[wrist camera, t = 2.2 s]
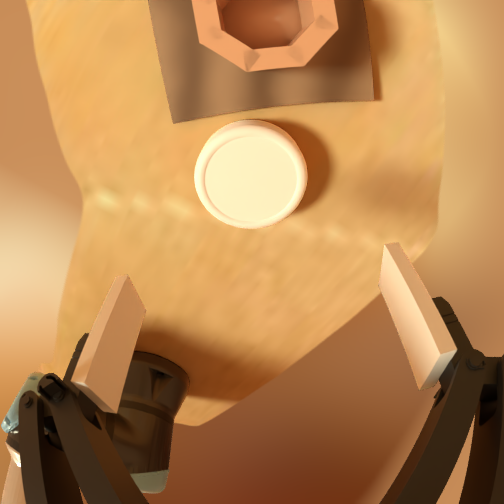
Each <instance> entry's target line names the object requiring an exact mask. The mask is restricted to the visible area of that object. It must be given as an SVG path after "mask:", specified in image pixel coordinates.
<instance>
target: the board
mask: <svg viewBox="0 0 504 504" xmlns="http://www.w3.org/2000/svg"><path fill="white" fill-rule="evenodd" d="M148 3H149V9H150V14H151V20H152V25H153V31H154V36H155V41H156V46H157V51H158V56H159V61H160V66H161V71H162V75H163V80H164V85H165V89H166V94H167V98H168V103H169V107H170V112H171V116H172V120H173V124H175V123H180V122H184V121H189V120H193V119H198V118H203V117H208V116H214V115H219V114H225V113H231V112H237V111H244V110H250V109H258V108H265V107H274V106H283V105H293V104H304V103H318V102H336V101H374V89H373V75H372V63H371V53H370V44H369V36H368V28H367V21H366V15H365V8H364V3H363V0H334V4H335V10H336V16H337V22H338V28H339V29H338V30H337V31H336V32H335V33H334V34H333V35H332V36H331V37H330V38H329V39H328V40H327V42H326V43H325V44H324V45H323V46H322V47H321V48H320V49H319V50H318V51H317V52H316V54H315V55H314V56H313V57H312V58H311V59H310V60H309V61H308V62H307V64H306V65H305V66H304V67H303V66H300V67H287V68H276V69H267V70H259V71H251V72H246V71H244V70H243V69H241V68H240V67H238V66H237V65H235V64H234V63H232V62H230V61H229V60H227V59H226V58H224V57H222V56H221V55H219V54H218V53H216V52H214V51H213V50H211V49H209V48H207V47H206V46H204V45H202V44H200V43H199V38H198V33H197V27H196V22H195V16H194V11H193V5H192V0H148Z"/></svg>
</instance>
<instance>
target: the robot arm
mask: <svg viewBox="0 0 504 504" xmlns="http://www.w3.org/2000/svg"><path fill="white" fill-rule="evenodd" d="M378 286H379V288H380V290H381V293H382V295H383V297H384V299H385V302H386V304H387V306H388V309H389V311H390V314H391V316H392V319H393V321H394V324H395V326H396V329H397V331H398V334H399V336H400V339H401V341H402V344H403V347H404V350H405V352H406V355H407V358H408V361H409V363H410V366H411V369H412V372H413V374H414V378H415V381H416V384H417V387H418V390H419V391H421V390H424V389H427V388H430V387H434V386H435V384H436V383H437V381H438V380H439V382H440V384H441V388H440V389H439V390H438V392H437V393H436V395H435V396H434V398H435V402H434V404H433V406H432V409H431V411H430V413H429V416H428V418H427V420H426V422H425V424H424V427H423V429H422V431H421V433H420V435H419V437H418V439H417V441H416V443H415V445H414V447H413V449H412V451H411V452H410V454H409V456H408V458H407V460H406V462H405V463H404V465H403V467H402V469H401V470H400V472H399V474H398V476H397V477H396V479H395V480H394V482H393V484H392V485H391V487H390V488H389V490H388V491H387V493H386V495H385V496H384V498H383V499H382V501H381V502H380V503H379V504H436V502H437V501H438V499H439V497H440V495H441V493H442V491H443V489H444V487H445V485H446V484H447V482H448V479H449V477H450V475H451V473H452V471H453V469H454V467H455V464H456V462H457V460H458V457H459V455H460V453H461V450H462V448H463V445H464V443H465V440H466V438H467V435H468V432H469V429H470V427H471V423H472V421H473V418H474V415H475V421H474V430H473V437H472V444H471V451H470V456H469V462H468V467H467V472H466V477H465V481H464V486H463V490H462V493H461V497H460V501H459V504H504V355H503V356H502V357H485V356H484V354H483V353H482V352H480V351H478V350H475V349H473V347H472V346H471V344H470V341H469V339H468V338H467V336H466V334H465V332H464V330H463V328H462V326H461V324H460V322H458V319H457V317H456V315H455V314H454V311H453V309H452V308H451V306H450V304H449V303H448V302H447V301H446V300H445V299H443V298H442V297H436V298H432V299H431V297H430V295H429V293H428V292H427V290H426V288H425V286H424V284H423V282H422V281H421V279H420V277H419V276H418V274H417V272H416V270H415V269H414V267H413V265H412V264H411V262H410V261H409V259H408V257H407V256H406V254H405V252H404V251H403V249H402V248H401V246H400V245H399V243H390V244H384V252H383V259H382V266H381V273H380V279H379V285H378ZM145 313H146V309H145V307H144V305H143V304H142V302H141V300H140V298H139V296H138V294H137V292H136V290H135V288H134V286H133V284H132V282H131V280H130V278H129V276H128V275H120V276H116V277H115V279H114V281H113V283H112V285H111V287H110V289H109V291H108V293H107V295H106V298H105V300H104V302H103V304H102V306H101V308H100V311H99V313H98V315H97V317H96V320H95V322H94V324H93V326H92V329H91V331H90V333H85V334H84V335H83V337H82V338H81V339H80V340H79V342H78V344H77V346H76V349H75V352H74V353H73V356H72V358H71V361H70V363H69V366H68V368H67V371H66V374H65V376H64V379H63V381H62V380H61V379H60V378H59V377H58V376H57V375H56V374H54V373H48V374H46V375H45V374H43V373H40V372H34V373H31V374H30V375H29V377H28V378H27V380H26V381H25V383H24V385H23V386H22V388H21V390H20V391H19V393H18V395H17V397H16V398H15V400H14V402H13V404H12V406H11V407H10V409H9V411H8V413H7V415H6V416H5V418H4V420H3V422H2V424H1V427H2V429H3V430H4V431H5V432H6V433H8V437H7V440H6V443H5V444H6V446H7V448H8V450H9V452H10V454H11V462H10V466H9V470H8V474H7V478H6V482H5V487H4V491H3V496H2V502H1V504H83V501H82V497H81V493H80V489H81V491H82V493H83V495H84V497H85V499H86V501H87V503H88V504H149V503H148V502H147V500H146V499H145V497H144V496H143V494H142V493H141V492H143V493H159V492H161V491H163V490H164V488H165V486H166V481H167V476H168V472H169V469H168V468H169V460H170V450H171V442H172V433H173V425H174V419H175V416H176V414H177V413H178V411H179V409H180V407H181V405H182V403H183V402H184V400H185V398H186V396H187V394H188V389H189V378H188V376H187V374H186V373H185V372H184V371H183V370H182V369H181V368H180V367H179V366H177V365H176V364H174V363H172V362H170V361H168V360H166V359H164V358H161V357H159V356H156V355H152V354H148V353H143V352H134V348H135V345H136V342H137V338H138V335H139V332H140V329H141V326H142V322H143V319H144V316H145ZM79 487H80V489H79Z"/></svg>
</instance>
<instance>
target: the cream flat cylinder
mask: <svg viewBox="0 0 504 504" xmlns="http://www.w3.org/2000/svg"><path fill="white" fill-rule="evenodd" d="M307 179H308V173H307V166H306V162H305V159H304V157H303V155H302V153H301V151H300V149H299V147H298V145H297V144H296V142H295V141H294V140H293V138H292V137H291V136H290V135H289V134H288V133H287V132H286V131H284V130H283V129H281V128H280V127H278V126H276V125H274V124H271V123H269V122H266V121H261V120H240V121H236V122H233V123H230V124H227V125H225V126H224V127H222V128H220V129H219V130H217V131H216V132H215V133H214V134H213V135H212V136H211V137H210V138H209V139H208V141H207V142H206V144H205V145H204V147H203V149H202V151H201V153H200V155H199V157H198V160H197V163H196V166H195V173H194V180H195V187H196V190H197V193H198V196H199V198H200V200H201V202H202V203H203V205H204V206H205V208H206V209H207V210H208V211H209V212H210V213H211V214H212V215H213V216H215V217H216V218H217V219H219V220H221V221H222V222H224V223H227V224H229V225H232V226H235V227H239V228H246V229H256V228H263V227H268V226H271V225H274V224H276V223H278V222H280V221H282V220H283V219H285V218H286V217H288V216H289V215H290V214H291V213H292V212H293V211H294V210H295V209H296V208H297V206H298V205H299V203H300V202H301V200H302V198H303V196H304V193H305V190H306V186H307Z"/></svg>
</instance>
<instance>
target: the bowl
mask: <svg viewBox="0 0 504 504" xmlns="http://www.w3.org/2000/svg"><path fill="white" fill-rule="evenodd" d="M192 5H193V11H194V16H195V22H196V27H197V33H198V38H199V43H200V44H202V45H204V46H206V47H207V48H209V49H211V50H213V51H214V52H216V53H218V54H219V55H221V56H222V57H224V58H226V59H227V60H229V61H230V62H232V63H234V64H235V65H237V66H238V67H240V68H241V69H243V70H244V71H246V72H251V71H259V70H267V69H276V68H287V67H300V66H303V67H304V66H305V65H306V64H307V62H308V61H309V60H310V59H311V58H312V57H313V56H314V55H315V54H316V52H317V51H318V50H319V49H320V48H321V47H322V46H323V45H324V44H325V43H326V42H327V40H328V39H329V38H330V37H331V36H332V35H333V34H334V33H335V32H336V31H337V30H338V29H339V28H338V22H337V16H336V10H335V4H334V0H192Z"/></svg>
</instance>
